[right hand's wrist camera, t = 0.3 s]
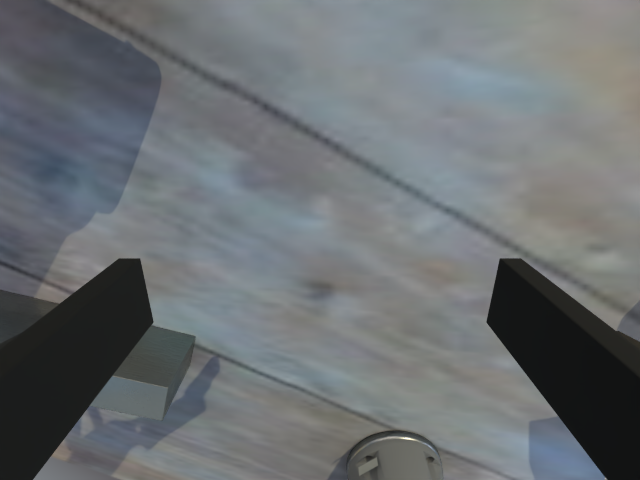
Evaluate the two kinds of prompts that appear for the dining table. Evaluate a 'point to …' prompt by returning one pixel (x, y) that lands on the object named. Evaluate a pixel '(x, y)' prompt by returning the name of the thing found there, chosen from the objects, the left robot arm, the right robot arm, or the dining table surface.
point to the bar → (133, 374)
